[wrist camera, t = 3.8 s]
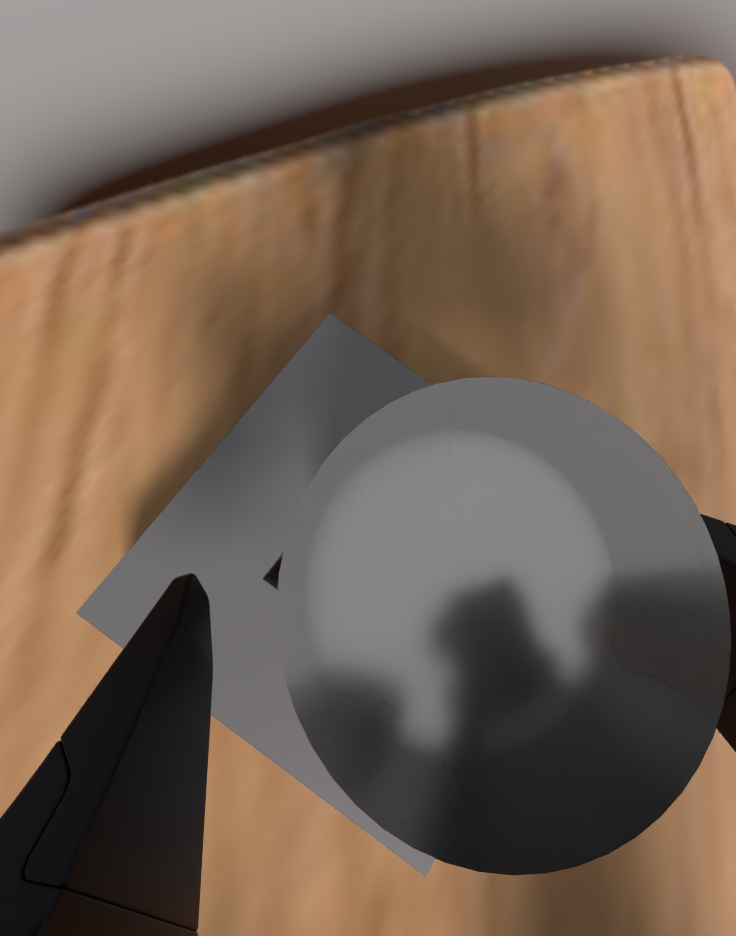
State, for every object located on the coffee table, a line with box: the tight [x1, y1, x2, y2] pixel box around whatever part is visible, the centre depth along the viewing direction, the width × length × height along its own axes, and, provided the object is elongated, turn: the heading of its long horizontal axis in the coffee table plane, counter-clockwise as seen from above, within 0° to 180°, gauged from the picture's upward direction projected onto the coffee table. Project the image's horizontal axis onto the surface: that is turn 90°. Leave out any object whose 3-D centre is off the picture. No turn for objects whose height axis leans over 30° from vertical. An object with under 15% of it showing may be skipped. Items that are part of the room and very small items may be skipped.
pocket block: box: [76, 314, 435, 876], centre depth 15 cm, size 14×14×3 cm
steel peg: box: [276, 377, 731, 875], centre depth 10 cm, size 4×4×14 cm
